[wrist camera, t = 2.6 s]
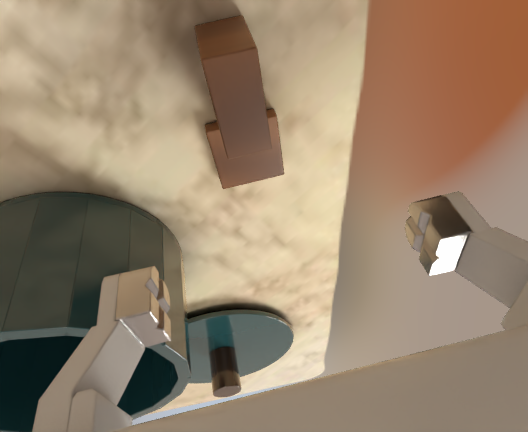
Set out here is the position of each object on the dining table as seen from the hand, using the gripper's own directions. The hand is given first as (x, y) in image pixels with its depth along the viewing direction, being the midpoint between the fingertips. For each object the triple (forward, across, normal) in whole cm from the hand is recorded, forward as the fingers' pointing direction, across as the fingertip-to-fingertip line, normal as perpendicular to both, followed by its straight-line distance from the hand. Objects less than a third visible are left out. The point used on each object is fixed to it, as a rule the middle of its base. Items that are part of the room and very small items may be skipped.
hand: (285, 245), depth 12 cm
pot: (+12, +14, +11) cm, 21 cm away
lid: (+11, +7, +29) cm, 32 cm away
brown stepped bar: (+11, 0, +2) cm, 12 cm away
